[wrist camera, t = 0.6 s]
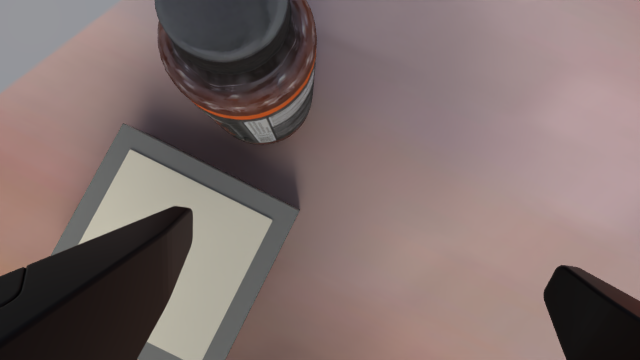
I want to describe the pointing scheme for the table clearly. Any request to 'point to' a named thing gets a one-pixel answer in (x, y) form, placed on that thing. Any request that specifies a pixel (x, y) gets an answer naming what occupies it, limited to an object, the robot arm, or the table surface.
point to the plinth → (207, 245)
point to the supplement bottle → (242, 62)
